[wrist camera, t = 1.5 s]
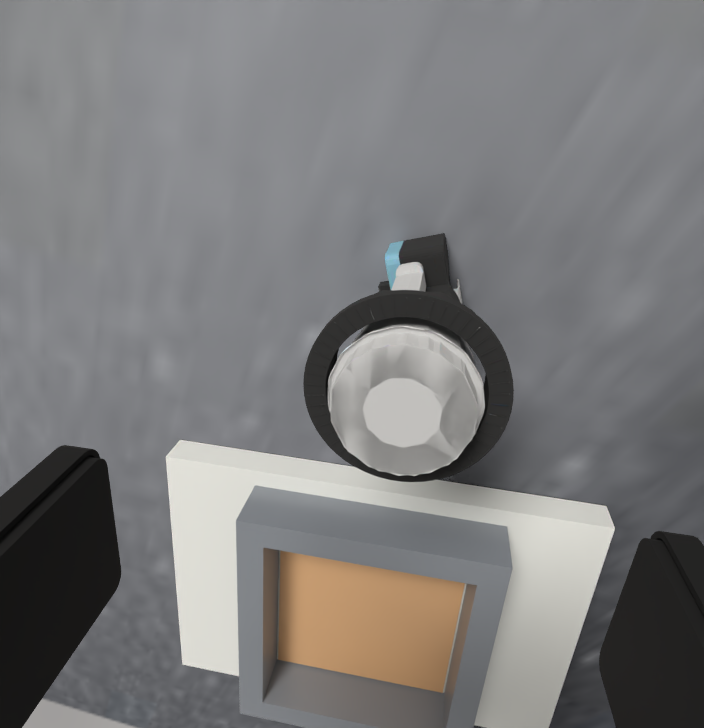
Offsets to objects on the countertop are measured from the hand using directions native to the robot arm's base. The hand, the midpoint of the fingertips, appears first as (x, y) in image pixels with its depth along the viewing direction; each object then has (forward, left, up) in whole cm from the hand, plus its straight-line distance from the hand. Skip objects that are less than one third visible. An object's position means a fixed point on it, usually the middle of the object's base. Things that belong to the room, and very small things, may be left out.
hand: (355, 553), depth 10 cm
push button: (-1, 0, -14) cm, 14 cm away
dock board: (0, +15, -14) cm, 21 cm away
